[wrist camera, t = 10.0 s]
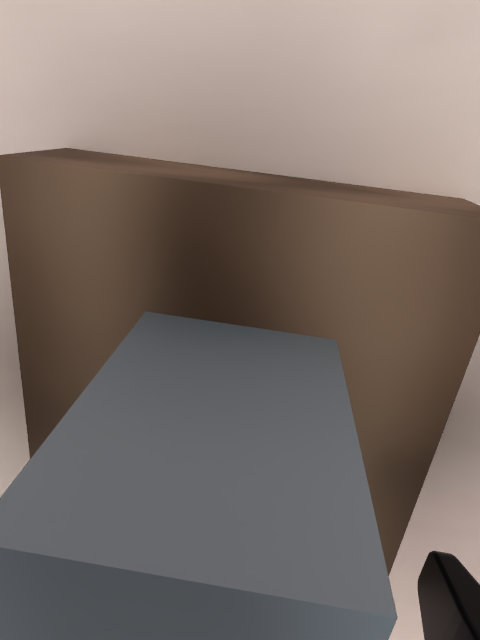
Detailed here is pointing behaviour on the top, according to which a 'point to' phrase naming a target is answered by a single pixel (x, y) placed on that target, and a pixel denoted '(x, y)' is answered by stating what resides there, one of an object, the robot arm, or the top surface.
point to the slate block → (198, 498)
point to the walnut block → (248, 287)
